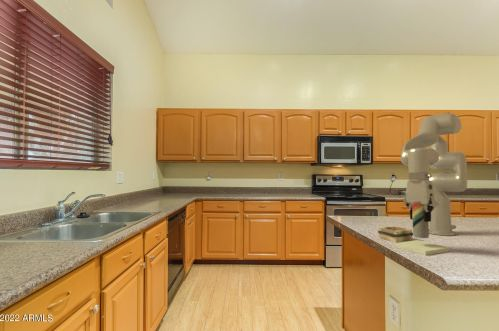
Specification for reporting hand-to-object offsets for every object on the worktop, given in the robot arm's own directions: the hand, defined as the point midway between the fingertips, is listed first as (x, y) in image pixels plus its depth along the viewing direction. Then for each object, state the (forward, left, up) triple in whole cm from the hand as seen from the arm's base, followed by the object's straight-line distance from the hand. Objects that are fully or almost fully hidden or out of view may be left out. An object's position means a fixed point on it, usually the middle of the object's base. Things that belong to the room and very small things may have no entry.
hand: (420, 219), depth 115 cm
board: (0, 0, -12) cm, 12 cm away
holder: (-5, -17, -12) cm, 21 cm away
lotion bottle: (0, 0, -7) cm, 7 cm away
